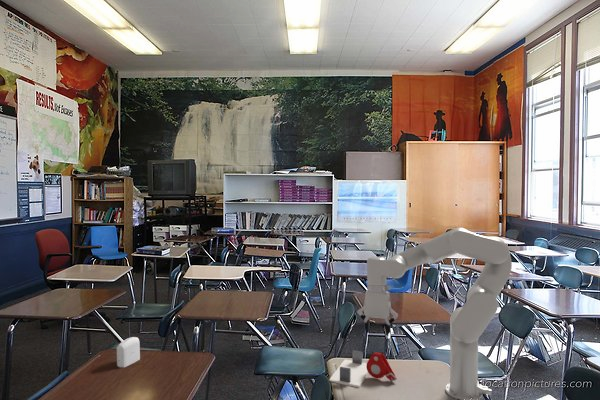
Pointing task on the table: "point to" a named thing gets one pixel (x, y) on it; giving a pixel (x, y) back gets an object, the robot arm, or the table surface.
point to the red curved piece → (380, 367)
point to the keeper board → (351, 371)
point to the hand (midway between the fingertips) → (377, 332)
